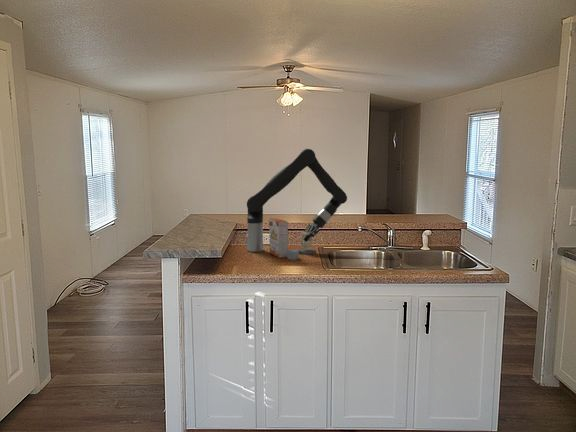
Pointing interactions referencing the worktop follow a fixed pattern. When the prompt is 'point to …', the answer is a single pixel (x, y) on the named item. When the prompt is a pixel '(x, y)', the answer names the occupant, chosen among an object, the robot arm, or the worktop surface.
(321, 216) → the robot arm
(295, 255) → the slate cube
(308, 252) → the charcoal pad
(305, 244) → the birch block
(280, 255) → the cracker box
